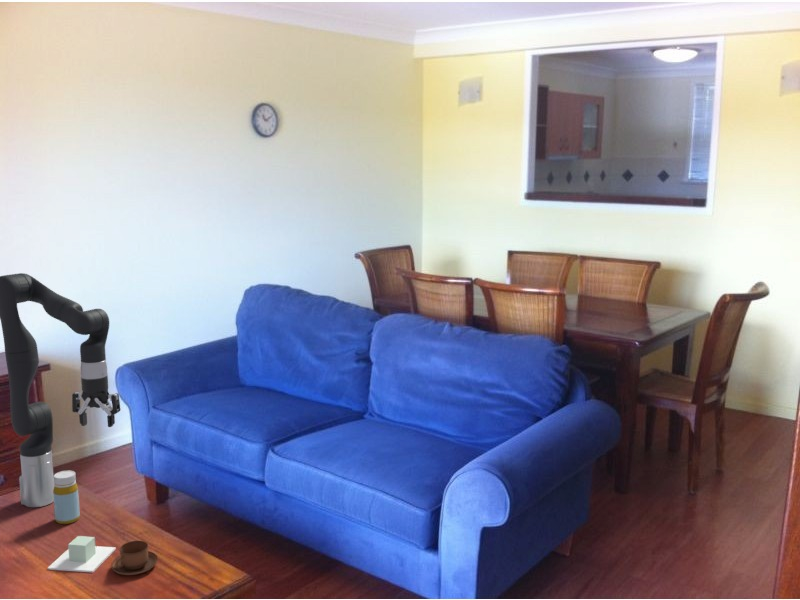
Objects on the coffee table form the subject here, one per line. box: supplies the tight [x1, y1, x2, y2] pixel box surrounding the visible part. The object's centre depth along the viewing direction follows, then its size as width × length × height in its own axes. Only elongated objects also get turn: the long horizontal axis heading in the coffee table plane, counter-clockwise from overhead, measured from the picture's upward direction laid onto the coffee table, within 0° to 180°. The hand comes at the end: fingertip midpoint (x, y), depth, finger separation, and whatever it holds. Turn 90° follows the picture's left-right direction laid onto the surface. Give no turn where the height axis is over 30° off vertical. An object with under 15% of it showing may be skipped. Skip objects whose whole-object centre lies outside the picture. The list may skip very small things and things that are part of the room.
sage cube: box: [67, 535, 96, 562], centre depth 212 cm, size 5×5×5 cm
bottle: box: [53, 470, 81, 525], centre depth 234 cm, size 7×7×15 cm
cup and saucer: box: [111, 540, 158, 576], centre depth 208 cm, size 12×12×6 cm
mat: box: [47, 545, 117, 574], centre depth 212 cm, size 13×13×1 cm
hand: (97, 425), depth 232 cm, fingers open, 8 cm apart
